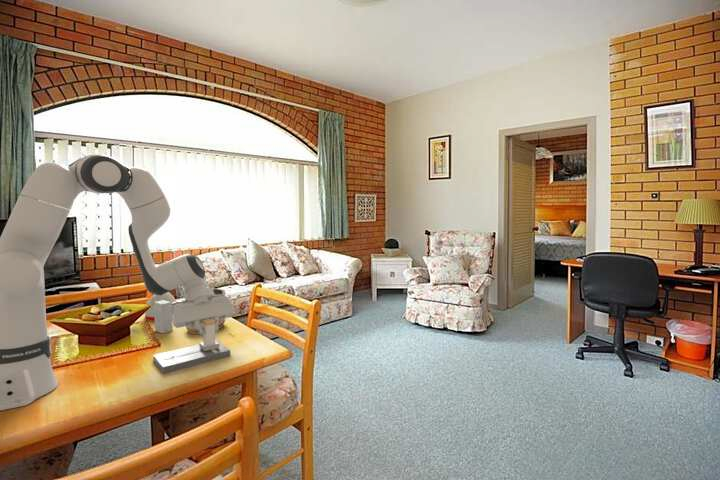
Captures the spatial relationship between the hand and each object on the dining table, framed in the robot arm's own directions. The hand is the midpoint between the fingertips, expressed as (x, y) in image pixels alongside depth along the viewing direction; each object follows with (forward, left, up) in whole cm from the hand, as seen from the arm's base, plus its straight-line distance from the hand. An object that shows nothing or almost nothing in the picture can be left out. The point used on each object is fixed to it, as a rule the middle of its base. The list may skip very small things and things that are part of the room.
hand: (209, 331), depth 127 cm
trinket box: (+9, +28, -8) cm, 31 cm away
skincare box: (-6, +36, -8) cm, 37 cm away
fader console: (-6, +1, -8) cm, 10 cm away
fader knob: (0, +1, -6) cm, 6 cm away
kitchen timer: (-1, +58, -8) cm, 58 cm away
